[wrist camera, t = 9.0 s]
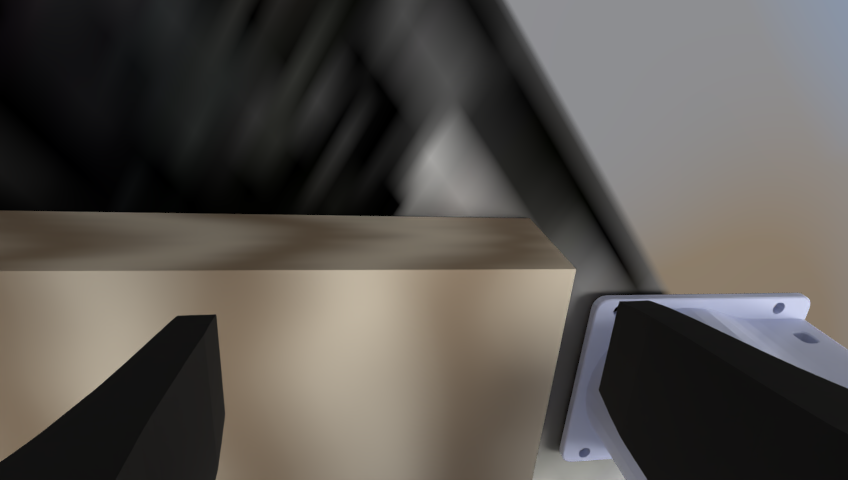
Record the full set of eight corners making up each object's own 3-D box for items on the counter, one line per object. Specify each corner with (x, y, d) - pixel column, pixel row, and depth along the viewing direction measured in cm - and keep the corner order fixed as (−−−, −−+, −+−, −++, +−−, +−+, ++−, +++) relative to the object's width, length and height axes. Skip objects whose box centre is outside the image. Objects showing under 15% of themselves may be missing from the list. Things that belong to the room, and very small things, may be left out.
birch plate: (529, 218, 20) (576, 269, 17) (475, 540, 26) (501, 627, 23) (-55, 209, 17) (-155, 271, 13) (44, 582, 23) (-7, 693, 19)
